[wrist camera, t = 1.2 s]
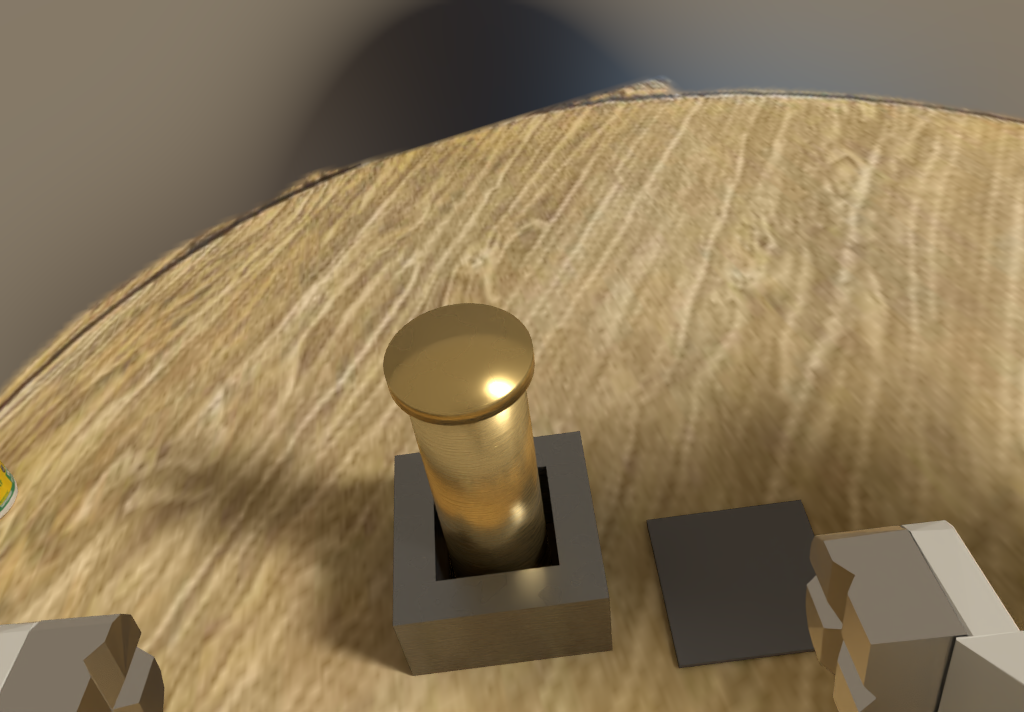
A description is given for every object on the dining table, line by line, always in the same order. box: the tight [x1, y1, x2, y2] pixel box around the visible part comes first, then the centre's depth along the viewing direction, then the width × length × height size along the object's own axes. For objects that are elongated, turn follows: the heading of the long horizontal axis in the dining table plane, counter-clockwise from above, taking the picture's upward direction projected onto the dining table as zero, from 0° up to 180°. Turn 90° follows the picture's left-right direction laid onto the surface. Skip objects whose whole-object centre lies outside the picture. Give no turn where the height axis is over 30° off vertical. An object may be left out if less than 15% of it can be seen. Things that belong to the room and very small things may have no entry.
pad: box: [647, 500, 816, 668], centre depth 56 cm, size 10×10×1 cm
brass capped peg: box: [383, 303, 551, 579], centre depth 51 cm, size 7×7×20 cm
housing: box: [393, 431, 612, 676], centre depth 56 cm, size 12×12×6 cm
